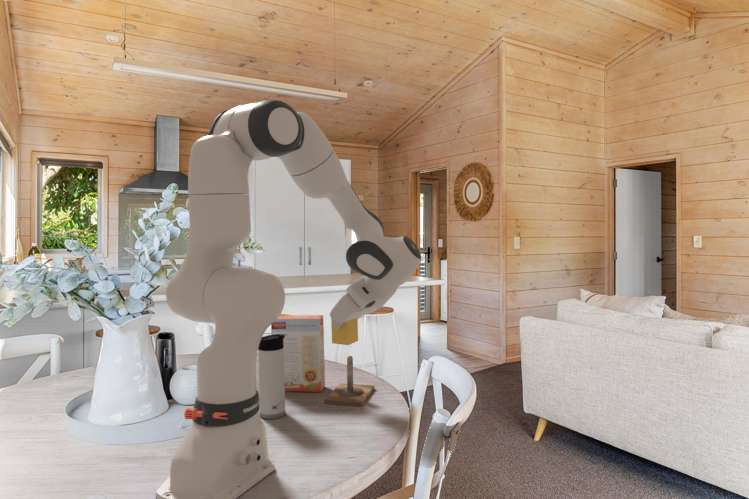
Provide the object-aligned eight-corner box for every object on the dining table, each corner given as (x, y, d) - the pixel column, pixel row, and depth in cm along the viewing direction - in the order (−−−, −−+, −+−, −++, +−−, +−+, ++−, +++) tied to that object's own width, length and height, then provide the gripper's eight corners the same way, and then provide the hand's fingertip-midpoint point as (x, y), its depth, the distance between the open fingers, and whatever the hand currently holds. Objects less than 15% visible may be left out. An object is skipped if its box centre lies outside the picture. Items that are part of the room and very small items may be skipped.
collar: (348, 345, 135) (347, 314, 134) (332, 343, 137) (331, 313, 137) (358, 340, 139) (357, 311, 138) (342, 338, 141) (341, 309, 141)
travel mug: (280, 420, 126) (279, 337, 124) (255, 418, 127) (253, 337, 126) (290, 410, 132) (288, 332, 131) (265, 409, 133) (263, 331, 132)
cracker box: (325, 386, 151) (324, 314, 150) (321, 392, 145) (320, 318, 144) (278, 385, 153) (276, 314, 151) (272, 391, 147) (270, 317, 145)
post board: (361, 406, 134) (361, 363, 134) (324, 403, 137) (323, 361, 136) (374, 388, 148) (373, 350, 147) (340, 386, 150) (339, 348, 150)
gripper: (385, 275, 143) (355, 308, 148) (345, 286, 125) (313, 323, 130) (400, 292, 141) (369, 325, 146) (362, 306, 123) (328, 342, 128)
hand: (342, 324), depth 138 cm, fingers closed on collar, 5 cm apart
